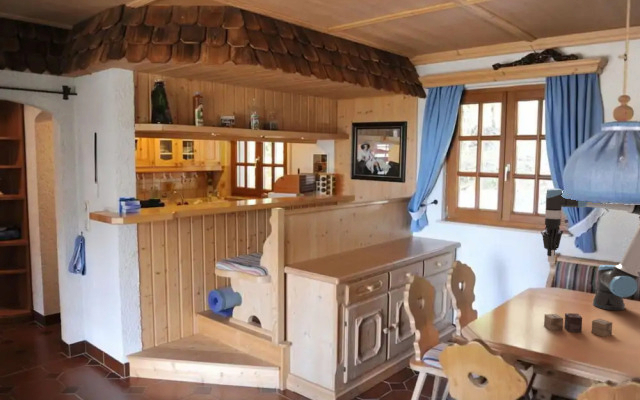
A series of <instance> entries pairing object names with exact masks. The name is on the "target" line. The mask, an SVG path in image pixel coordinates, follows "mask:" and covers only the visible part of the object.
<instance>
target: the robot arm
mask: <svg viewBox="0 0 640 400" xmlns="http://www.w3.org/2000/svg"><path fill="white" fill-rule="evenodd" d="M563 191H564V190H563V189H562V188H548V189H546V194H545V213H544V214H545V215H544V216H545V218H544V226H545V227H544V230H542V231H541V232H540V234H541V236H542V241H543V248H544V249H546V250H547V252H546V255H547V262H548V263H554V261H555V255H556V251H557V250H558V249H559V248H560V243H561V239H562V235H563V234H564V230H561V227H560V226H561V221H562V219H561V218H562V208H578V209H580V208H587V207H588V208H596V209H605V210H606V209H607V210H615V211H625V212H627V213H629V214H635V215H639V217H638V220H639V221H640V205H624V204H606V203H604V204H600V203H592V202H584V201H576V200H571V199H565V198H563V197H562V196H561V195H562V193H563ZM639 270H640V223H639V225H638V227H637V228H636V230H635V233H634V234H633V237H632V239H631V240H630V243H629V244H628V246H627V248H626V251H625V252H624V255H623V256H622V258H621V260H620V262H619V263H618V264H615V265H614V264H613V265H612V264H600V265H599V266H598V270H597V272H598V273H597V287H596V288H597V289H596V293H595V296H594V297H593V300H592V306H594V307H595V308H599V309H602V310H606V311H617V312H618V311H624V310H625V309H626V308H625V302H624V298H628V297H631V296H634V294H635V293H637V290H638V282H637V281H638V279H639V277H640V275H639V273H638V271H639Z"/></svg>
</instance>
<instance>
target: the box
mask: <svg viewBox="0 0 640 400" xmlns="http://www.w3.org/2000/svg"><path fill="white" fill-rule="evenodd" d="M564 329H566V331H567V332H569V333H582V329H583V316H581V314H579V313H570V312H565V313H564Z"/></svg>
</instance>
